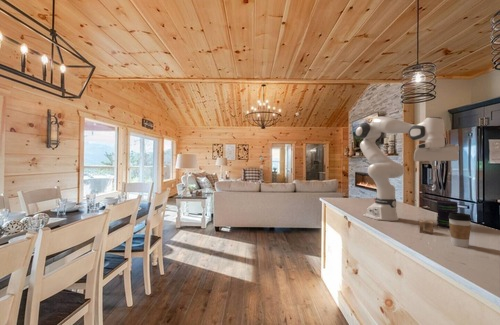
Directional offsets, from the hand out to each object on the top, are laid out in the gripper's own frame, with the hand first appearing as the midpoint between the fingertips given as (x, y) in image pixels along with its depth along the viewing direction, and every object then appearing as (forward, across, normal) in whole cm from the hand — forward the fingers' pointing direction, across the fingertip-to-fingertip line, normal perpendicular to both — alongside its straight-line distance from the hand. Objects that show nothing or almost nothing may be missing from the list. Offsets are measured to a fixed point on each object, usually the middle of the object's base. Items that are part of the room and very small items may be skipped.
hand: (435, 169), depth 135 cm
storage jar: (+35, -5, -14) cm, 38 cm away
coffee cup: (+35, -8, +23) cm, 43 cm away
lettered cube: (+35, +5, +6) cm, 36 cm away
